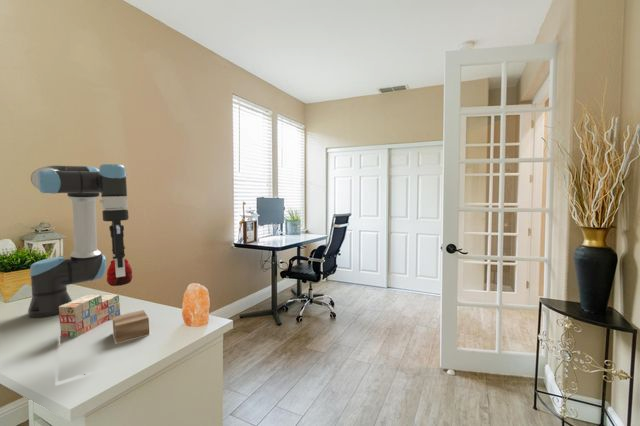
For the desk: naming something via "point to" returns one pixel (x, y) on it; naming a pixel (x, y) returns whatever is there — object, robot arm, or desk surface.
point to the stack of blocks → (87, 313)
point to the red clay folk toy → (119, 281)
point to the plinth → (130, 326)
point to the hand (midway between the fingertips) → (119, 274)
